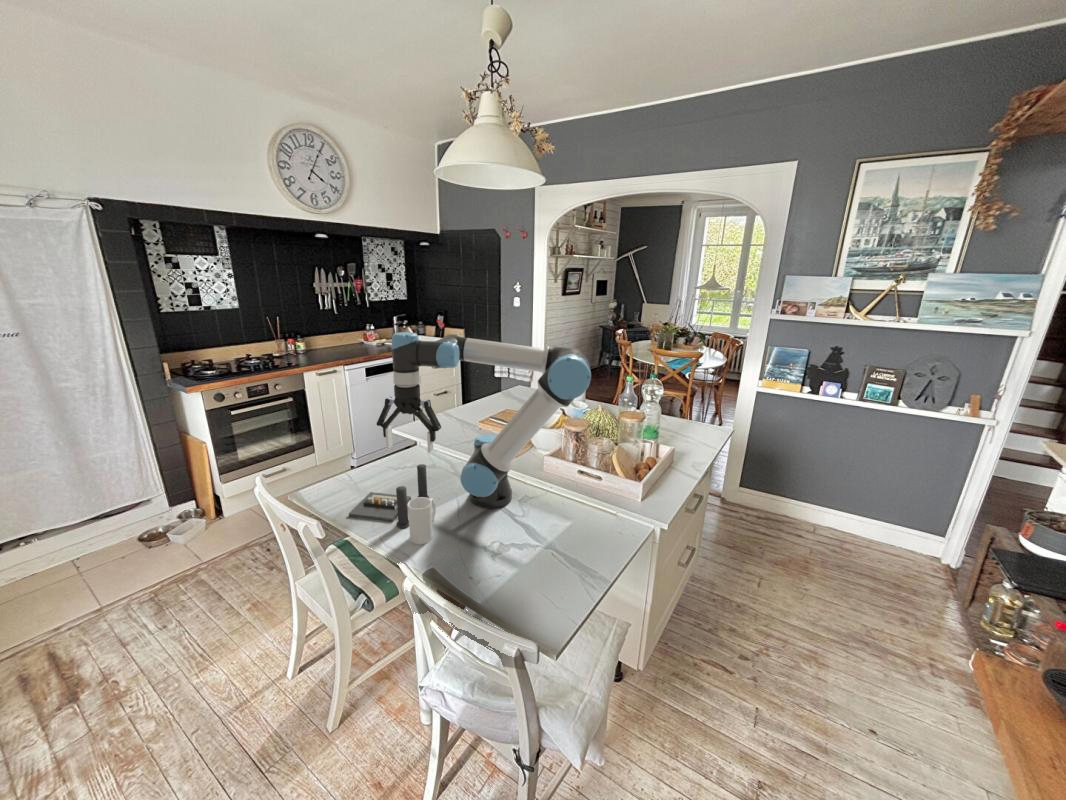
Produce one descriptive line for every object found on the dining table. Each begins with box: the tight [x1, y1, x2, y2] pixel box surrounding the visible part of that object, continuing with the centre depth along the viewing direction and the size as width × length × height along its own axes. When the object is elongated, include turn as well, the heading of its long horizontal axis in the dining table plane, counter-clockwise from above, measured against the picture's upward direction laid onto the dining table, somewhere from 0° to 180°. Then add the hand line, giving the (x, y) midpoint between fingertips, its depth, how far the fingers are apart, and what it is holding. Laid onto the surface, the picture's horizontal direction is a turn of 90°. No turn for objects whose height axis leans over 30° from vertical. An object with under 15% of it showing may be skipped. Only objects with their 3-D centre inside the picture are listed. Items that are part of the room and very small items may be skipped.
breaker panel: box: [348, 491, 412, 523], centre depth 142 cm, size 15×14×3 cm
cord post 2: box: [416, 463, 430, 499], centre depth 146 cm, size 4×4×13 cm
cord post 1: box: [395, 485, 409, 529], centre depth 131 cm, size 4×4×13 cm
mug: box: [407, 496, 437, 545], centre depth 126 cm, size 10×7×12 cm, turn 152°
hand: (410, 448), depth 134 cm, fingers open, 13 cm apart
